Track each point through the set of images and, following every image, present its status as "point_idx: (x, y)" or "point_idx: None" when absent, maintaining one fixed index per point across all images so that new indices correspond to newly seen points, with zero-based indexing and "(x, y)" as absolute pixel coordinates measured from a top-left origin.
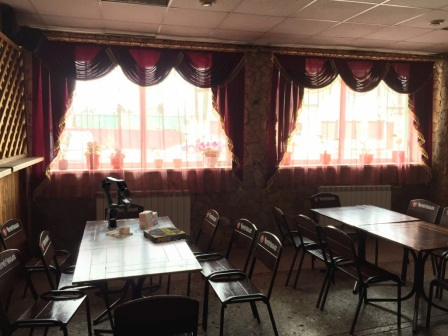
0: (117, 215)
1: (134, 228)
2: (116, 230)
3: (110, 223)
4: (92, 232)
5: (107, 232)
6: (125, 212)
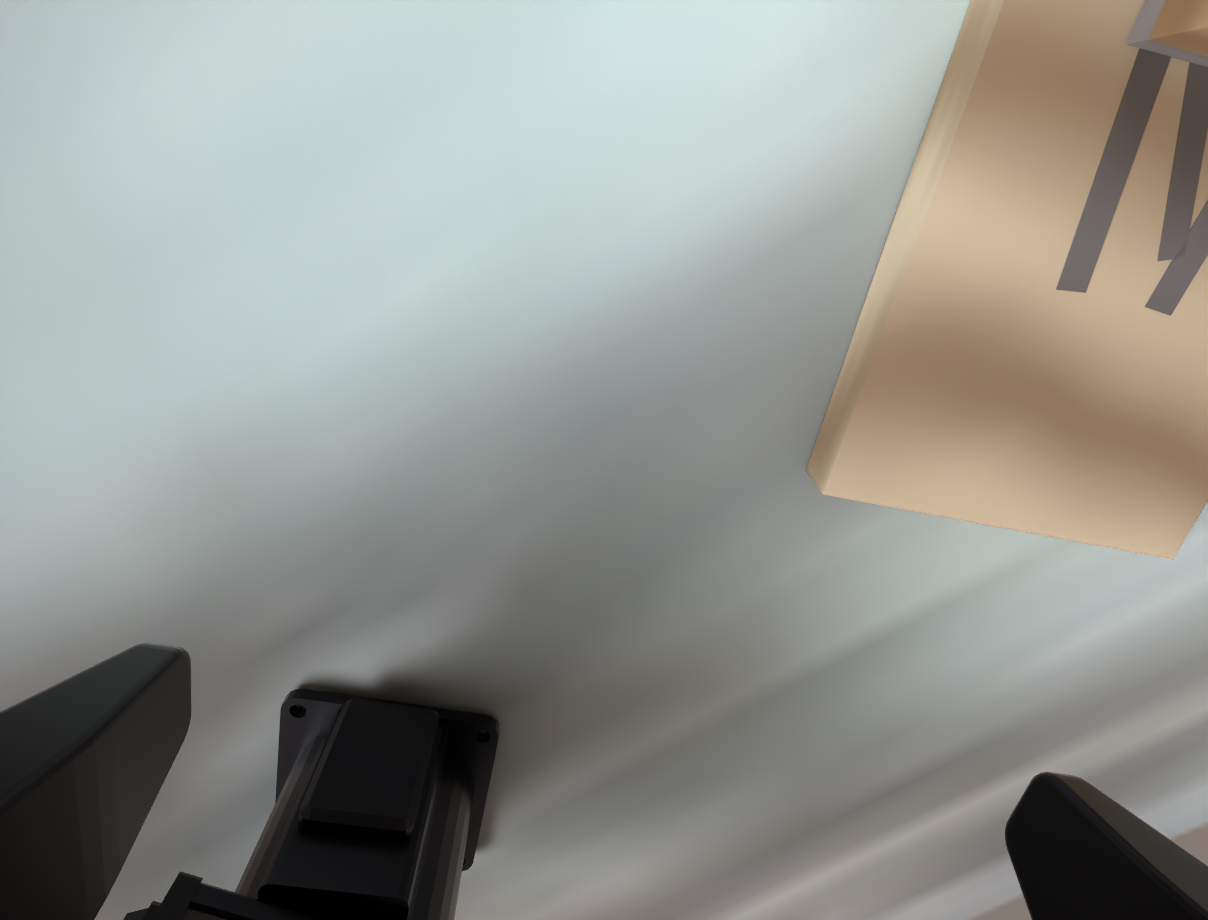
0: (1140, 832)
1: (210, 110)
2: (875, 426)
3: (456, 880)
4: (928, 877)
5: (1134, 535)
6: (86, 789)
